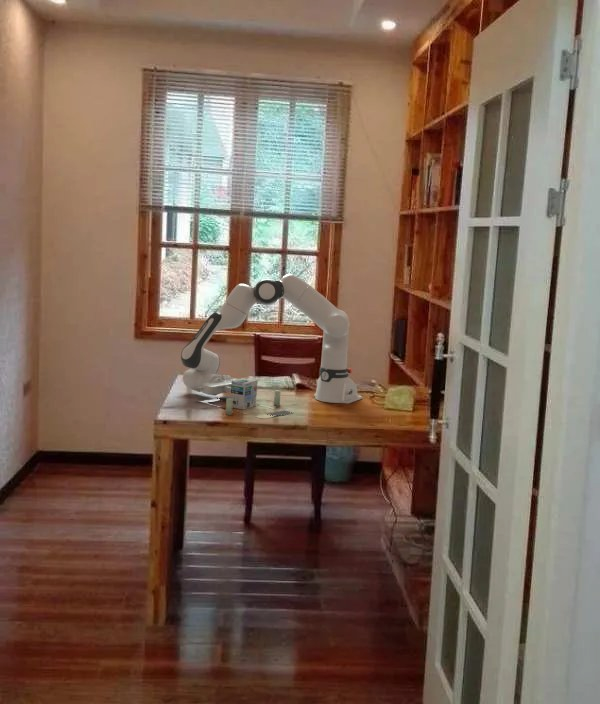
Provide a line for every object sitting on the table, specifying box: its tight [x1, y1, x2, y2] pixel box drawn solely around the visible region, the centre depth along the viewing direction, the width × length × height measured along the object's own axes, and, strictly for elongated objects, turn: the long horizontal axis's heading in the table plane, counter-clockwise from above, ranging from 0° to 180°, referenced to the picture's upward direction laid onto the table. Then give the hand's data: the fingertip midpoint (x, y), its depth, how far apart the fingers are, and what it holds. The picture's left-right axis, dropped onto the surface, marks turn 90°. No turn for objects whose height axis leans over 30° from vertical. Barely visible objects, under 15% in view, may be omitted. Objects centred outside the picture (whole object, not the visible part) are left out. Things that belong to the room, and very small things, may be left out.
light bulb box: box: [230, 377, 259, 410], centre depth 321 cm, size 11×7×11 cm, turn 155°
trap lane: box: [216, 389, 293, 417], centre depth 321 cm, size 30×38×6 cm
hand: (236, 390), depth 323 cm, fingers closed
